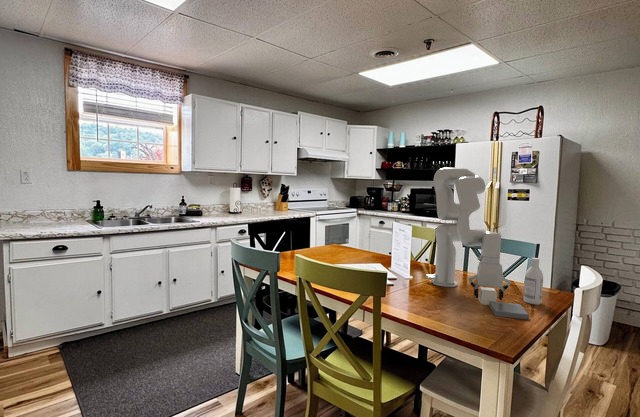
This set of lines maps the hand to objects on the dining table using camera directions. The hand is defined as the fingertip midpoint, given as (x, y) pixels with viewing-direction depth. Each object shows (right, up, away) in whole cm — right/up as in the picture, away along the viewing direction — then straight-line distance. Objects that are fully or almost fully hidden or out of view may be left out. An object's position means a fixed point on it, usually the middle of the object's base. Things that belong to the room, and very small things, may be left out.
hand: (488, 298), depth 158 cm
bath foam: (+21, -3, +2) cm, 21 cm away
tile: (+3, -3, -11) cm, 12 cm away
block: (0, -2, +1) cm, 2 cm away
